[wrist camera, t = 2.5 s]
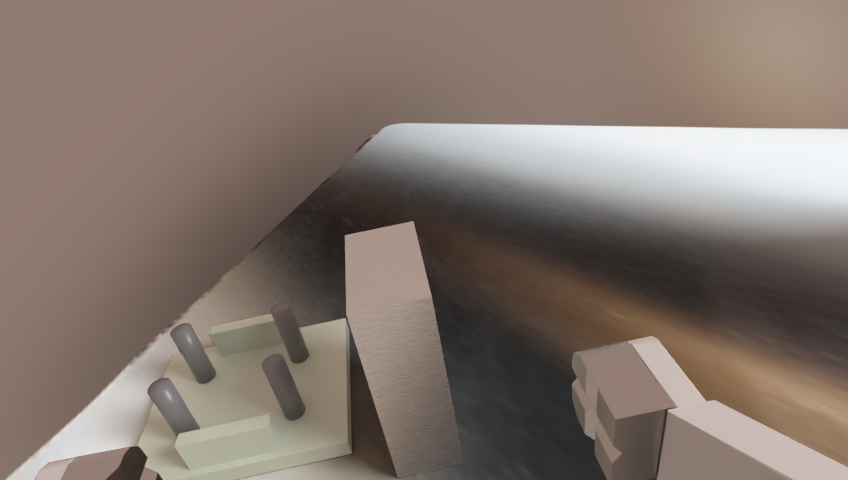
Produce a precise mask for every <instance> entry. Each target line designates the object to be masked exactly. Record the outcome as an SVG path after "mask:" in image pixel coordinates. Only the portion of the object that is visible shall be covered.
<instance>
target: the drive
mask: <svg viewBox="0 0 848 480" xmlns="http://www.w3.org/2000/svg"><path fill="white" fill-rule="evenodd" d="M345 267H346V315H347V318H348V321H349V325H350V328H351V331H352V334H353V337H354V340H355V344H356V347H357V350H358V353H359V356H360V360H361V363H362V366H363V369H364V372H365V375H366V379H367V382H368V385H369V388H370V391H371V394H372V398H373V401H374V404H375V407H376V410H377V414H378V417H379V420H380V423H381V426H382V429H383V433H384V436H385V439H386V442H387V445H388V448H389V452H390V455H391V458H392V461H393V464H394V467H395V471H396V474H397V477H398V478H403V477H407V476H412V475H416V474H421V473H425V472H429V471H434V470H438V469H443V468H447V467H452V466H456V465H461V464H464V462H463V457H462V451H461V446H460V441H459V436H458V431H457V425H456V420H455V415H454V410H453V405H452V399H451V394H450V389H449V384H448V379H447V374H446V368H445V363H444V358H443V353H442V348H441V342H440V337H439V332H438V327H437V322H436V316H435V311H434V306H433V301H432V296H431V292H430V288H429V283H428V279H427V275H426V271H425V267H424V263H423V259H422V255H421V251H420V246H419V242H418V238H417V234H416V230H415V226H414V222H413V221H411V222H406V223H402V224H397V225H392V226H387V227H382V228H378V229H373V230H368V231H363V232H358V233H354V234H349V235H345Z"/></svg>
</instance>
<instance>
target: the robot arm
mask: <svg viewBox="0 0 848 480" xmlns="http://www.w3.org/2000/svg"><path fill="white" fill-rule="evenodd" d="M572 368H573V370H574V372H575V374H576V376H577V379H576V380H575V381H574V382H573V384H572V397H573V402H574V407H575V411H576V414H577V417H578V419H579V422H580V424H581V426H582V429H583V431H584V433H585V434H586V435H588V436H590V437H591V438H593V439H594V440H595V456H596V458H597V460H598V462H599V464H600V466H601V468H602V470H603V472H604V474H605V476H606V478H607V480H647V479H652V478H657V480H848V467H846V466H844V465H842V464H840V463H838V462H836V461H834V460H832V459H830V458H828V457H826V456H824V455H822V454H820V453H818V452H816V451H814V450H812V449H810V448H808V447H806V446H804V445H802V444H800V443H798V442H796V441H794V440H792V439H791V438H789V437H787V436H785V435H783V434H781V433H779V432H777V431H775V430H773V429H771V428H769V427H767V426H765V425H763V424H761V423H759V422H757V421H755V420H753V419H751V418H749V417H747V416H745V415H743V414H741V413H739V412H737V411H735V410H733V409H731V408H729V407H727V406H725V405H723V404H721V403H719V402H717V401H716V400H712V401H706V400H705V399H704V398H703V397H702V395H701V394H700V393H699V391H698V390H697V389H696V388H695V386H694V385H693V384H692V382H691V381H690V380H689V379H688V377H687V376H686V375H685V373H684V372H683V371H682V370H681V368H680V367H679V366H678V364H677V363H676V362H675V361H674V359H673V358H672V357H671V356H670V354H669V353H668V352H667V350H666V349H665V348H664V347H663V345H662V344H661V343H660V341H659V340H658V339H657V338H655V337H653V336H649V337H645V338H640V339H635V340H631V341H626V342H621V343H616V344H612V345H607V346H603V347H598V348H594V349H589V350H585V351H580V352H576V353H574V355H573V358H572ZM147 458H148V457H147V456H146V455H145V453H144V452H143V451H142V449H141V448H140V447H139V446H136V447H127V448H122V449H116V450H111V451H106V452H100V453H95V454H89V455H84V456H78V457H75V458H70V459H65V460H59V461H54V462H49V463H48V464H47V465H45V466H44V467H43V468H42V469H41V470H40V471H39V472H38V474H37V476H36V478H35V480H163V479H162V478H161V476H160V475H159V473H158V472H156V471H154V470H151V469H149V468H147V467H145V464H146V461H147Z"/></svg>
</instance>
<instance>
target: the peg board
mask: <svg viewBox="0 0 848 480" xmlns="http://www.w3.org/2000/svg"><path fill="white" fill-rule="evenodd" d="M209 335H210V337H211V339H212V341H213V343H214V345H215V346H213V347H208V348H203V347H202V345H201V343H200V341H199V339H198V338H197V336H196V334H195V332H194V330H193V328H192V326H191V325H190V324H188V323H184V324H181V325H178V326H177V327H175V328H174V329H173V330H172V331H171V337H172V338H173V340H174V342H175V344H176V345H177V347H178V349H179V351H180V352H181V353H180V354H175V355H171V358H170V361H169V363H168V366H167V368H166V371H165V374H164V376H163V378H161V379H158V380H157V381H155V382H153V383H152V384H151V385H150V387H149V388H148V394H149V396H150V397H151V399H152V400H153V402H154V403H153V405H152V408H151V411H150V413H149V416H148V418H147V421H146V424H145V426H144V429H143V432H142V434H141V437H140V439H139V442H138V445H137V446H139V447H140V448H141V449H142V451H143V452H144V453H145V455H146V456H147V457H148V458H147V461H146V464H145V467H147V468H149V469H151V470H154V471H156V472H158V473H159V475H160V476H161V478H162V479H163V480H236V479H240V478H245V477H249V476H254V475H258V474H263V473H267V472H272V471H276V470H281V469H285V468H290V467H294V466H299V465H303V464H308V463H312V462H317V461H321V460H326V459H330V458H335V457H339V456H344V455H348V454H352V429H351V388H350V347H349V327H348V324H347V321H346V318H344V319H339V320H335V321H330V322H325V323H320V324H316V325H311V326H306V327H302V328H299V326H298V323H297V321H296V318H295V316H294V313H293V310H292V308H291V305H290V304H289V303H286V302H284V303H279V304H277V305H275V306H274V307H273V308H272V309H271V314H267V315H263V316H258V317H253V318H248V319H244V320H239V321H234V322H230V323H225V324H220V325H215V326H212V328H211V331H210V334H209Z"/></svg>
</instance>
